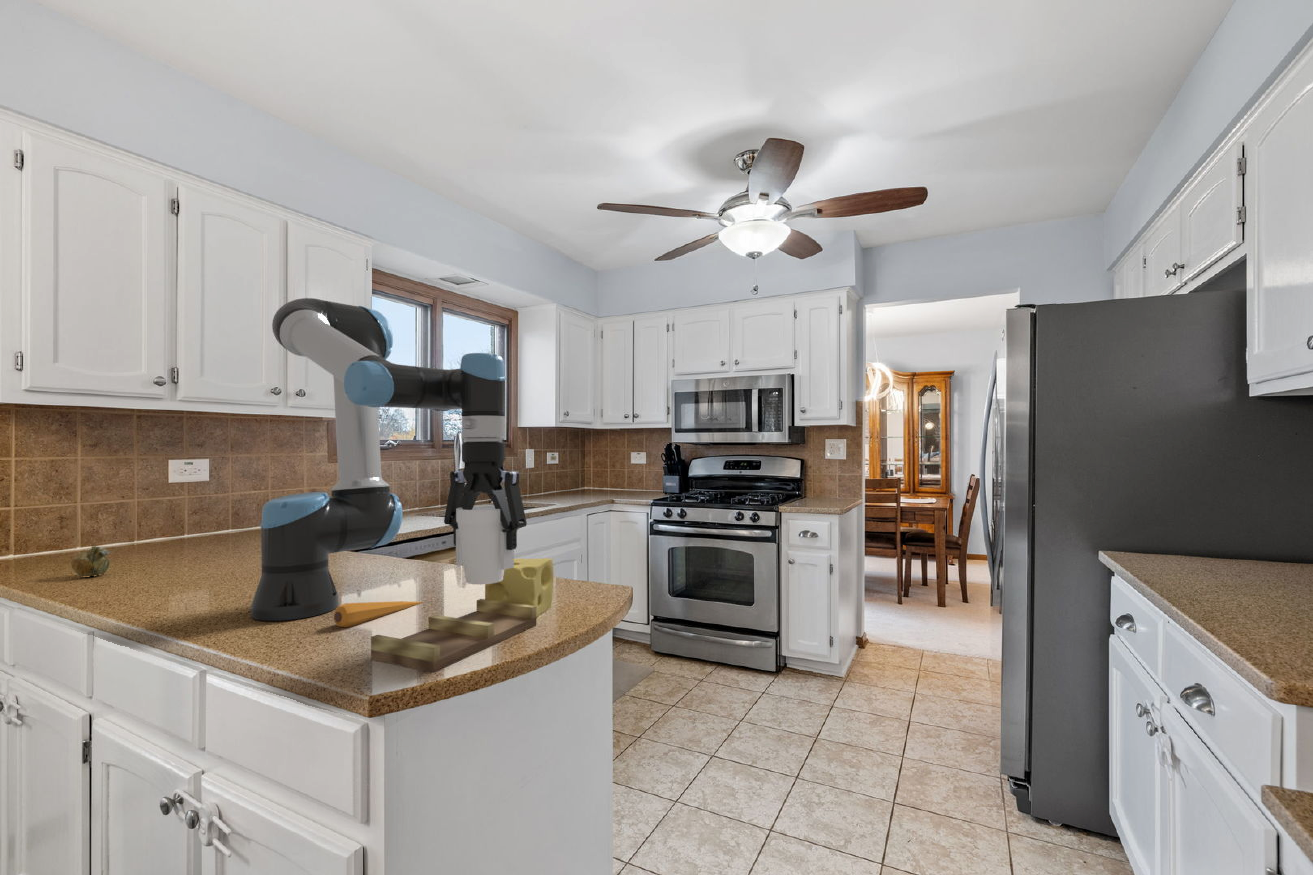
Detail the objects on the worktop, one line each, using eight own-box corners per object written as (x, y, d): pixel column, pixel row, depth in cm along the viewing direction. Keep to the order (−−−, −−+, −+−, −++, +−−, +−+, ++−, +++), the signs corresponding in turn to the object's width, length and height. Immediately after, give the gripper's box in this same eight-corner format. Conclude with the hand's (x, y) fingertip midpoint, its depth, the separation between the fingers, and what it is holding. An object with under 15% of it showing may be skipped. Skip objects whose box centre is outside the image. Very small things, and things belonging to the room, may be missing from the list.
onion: (112, 572, 162) (112, 542, 162) (110, 577, 155) (110, 545, 155) (73, 576, 157) (73, 545, 157) (68, 581, 151) (69, 549, 151)
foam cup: (464, 575, 113) (464, 505, 113) (515, 574, 113) (514, 504, 114) (450, 587, 103) (450, 510, 104) (506, 585, 104) (505, 509, 104)
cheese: (534, 621, 114) (534, 568, 115) (481, 618, 117) (481, 566, 117) (554, 606, 125) (554, 557, 125) (505, 604, 127) (505, 556, 127)
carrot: (340, 634, 110) (349, 611, 109) (326, 621, 112) (334, 599, 111) (426, 616, 127) (434, 597, 127) (412, 606, 129) (420, 587, 129)
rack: (370, 659, 94) (370, 636, 94) (480, 616, 117) (480, 598, 117) (433, 672, 89) (433, 648, 89) (536, 625, 112) (536, 606, 112)
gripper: (421, 441, 110) (422, 565, 110) (520, 439, 101) (521, 575, 100) (451, 441, 117) (452, 558, 117) (547, 439, 108) (548, 566, 107)
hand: (484, 566), depth 108 cm, fingers closed on foam cup, 9 cm apart
